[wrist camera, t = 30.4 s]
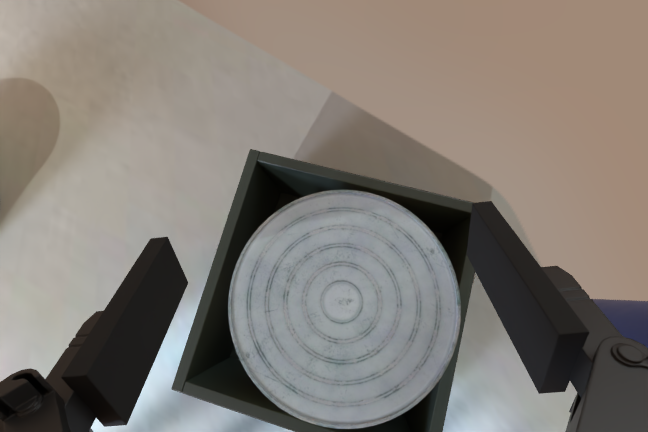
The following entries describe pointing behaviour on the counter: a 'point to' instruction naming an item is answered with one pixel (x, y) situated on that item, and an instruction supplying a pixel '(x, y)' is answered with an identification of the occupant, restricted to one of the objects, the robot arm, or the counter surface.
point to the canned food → (344, 309)
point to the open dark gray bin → (243, 220)
